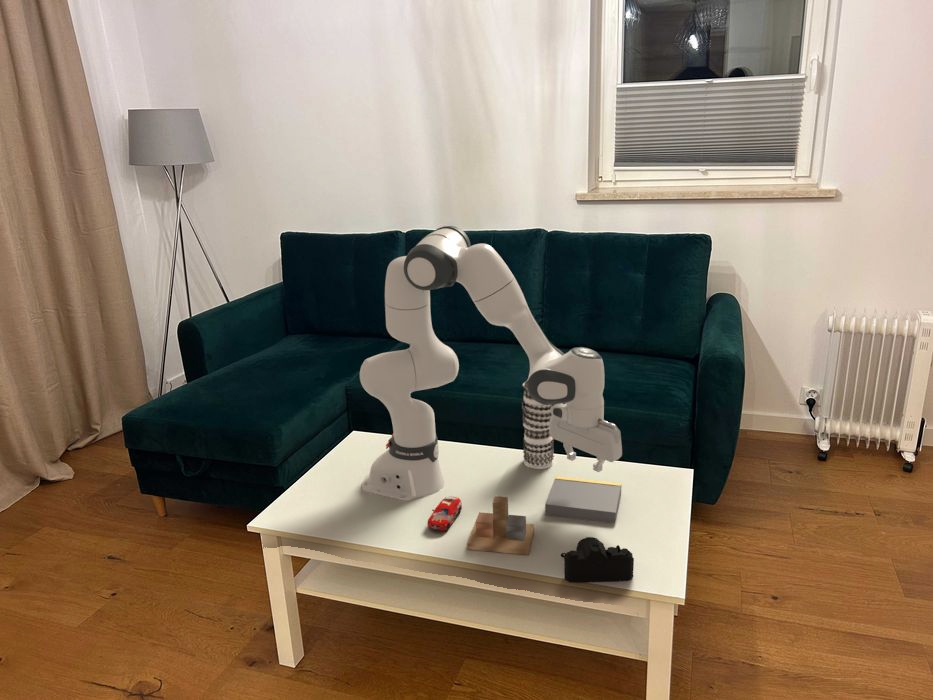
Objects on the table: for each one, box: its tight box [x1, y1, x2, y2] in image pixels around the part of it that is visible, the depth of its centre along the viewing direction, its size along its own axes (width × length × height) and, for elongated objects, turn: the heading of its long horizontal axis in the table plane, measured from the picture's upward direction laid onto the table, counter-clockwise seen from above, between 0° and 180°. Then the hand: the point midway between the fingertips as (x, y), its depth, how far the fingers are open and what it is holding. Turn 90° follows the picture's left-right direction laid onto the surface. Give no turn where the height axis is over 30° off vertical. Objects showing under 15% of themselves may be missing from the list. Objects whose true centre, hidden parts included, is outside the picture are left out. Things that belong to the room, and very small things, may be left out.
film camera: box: [560, 536, 635, 584], centre depth 154 cm, size 15×10×9 cm, turn 89°
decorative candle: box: [520, 378, 556, 470], centre depth 199 cm, size 9×9×25 cm
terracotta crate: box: [475, 511, 494, 538], centre depth 167 cm, size 4×4×4 cm
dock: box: [544, 475, 622, 524], centre depth 181 cm, size 17×14×3 cm
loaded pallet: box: [466, 495, 535, 556], centre depth 166 cm, size 14×10×12 cm
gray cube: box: [506, 514, 527, 541], centre depth 165 cm, size 4×4×4 cm
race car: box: [426, 496, 463, 532], centre depth 176 cm, size 13×5×4 cm, turn 159°
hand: (584, 464), depth 178 cm, fingers open, 7 cm apart
